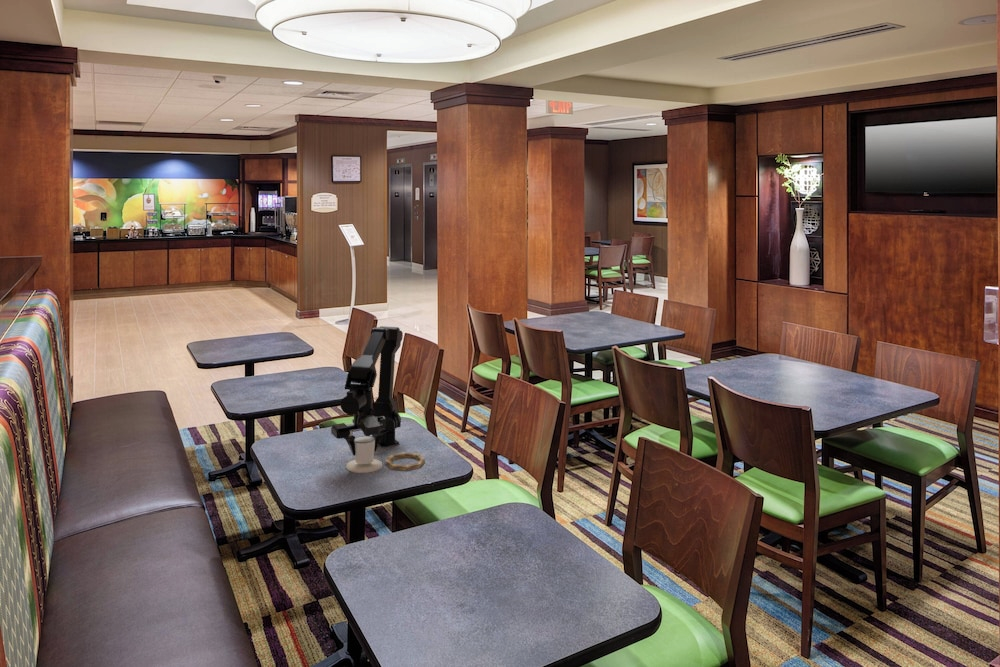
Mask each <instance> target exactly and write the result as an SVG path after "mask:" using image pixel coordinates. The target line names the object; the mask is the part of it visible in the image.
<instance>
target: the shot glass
mask: <svg viewBox="0 0 1000 667" xmlns="http://www.w3.org/2000/svg"><path fill="white" fill-rule="evenodd" d="M354 437H355V439H354V444H355V456H354V460H355V462H356V463H358V464H368V463H371V462H373V461H374V459H375V452H374V449H375V438H374V437H372V435H370V436H365V435H359V436H354Z"/></svg>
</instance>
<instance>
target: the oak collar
mask: <svg viewBox="0 0 1000 667" xmlns="http://www.w3.org/2000/svg"><path fill="white" fill-rule="evenodd" d="M403 458H409V459H416V460H417V462H415V463H411V464H407V465H405V464H396V463H394V462H393V461H394V460H398V459H403ZM424 462H425V463H426V458H425V457H423V456H422V455H421V454H420V453H417V452H416V453H415V452H408V451H407V452H405V451H404V452H399V453H394V454H390V455H389V456H388V457H387V458H386V459H385V465H386V466H387V467H389V469H391V470H394V471H395V470H396V471H405V472H406V471H410V470H416V469H420V468H422V466H423V465H424V464H425V463H424Z"/></svg>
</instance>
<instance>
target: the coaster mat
mask: <svg viewBox="0 0 1000 667" xmlns="http://www.w3.org/2000/svg"><path fill="white" fill-rule="evenodd" d="M345 465H346V466H345V468H346V470H347V471H348V472H351V473H355V474H367V473H372V472H373V473H374V472H376V471H379V470H381V468H382V467H383V462H382V461H381V460H379V459H376V458H374V461H373V462H371V463H368V464H358V463H356V462H355V459H353V460H351V461H348V462H347V463H346V464H345Z"/></svg>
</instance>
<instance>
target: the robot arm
mask: <svg viewBox="0 0 1000 667" xmlns="http://www.w3.org/2000/svg"><path fill="white" fill-rule="evenodd" d="M403 334H404V333H403V331H402V330H400V327H398V326H378V327H377V326H375V327H372V328H371V332H370V336H369V339H368V341H367V343H366V345H365V347H364V350H363V352H362V354H361V356H359V357H358V358H357V359H355V360H354V361H353V362H352V364H351V366H350V367H349V369H348V370H347V371H348V372H347V375H346V376H347V377H346V381H345V385H344V390H348V391H347V392H346V396H344V397H343V398H342V400H341V401H340V408H341V411H342V413H343V414H345V415H348V416H353V419H352V424H353V425H347V424H346V423H344V422H340V423H335V424H333V425H332V426H331V428H330V433H331V435H332V436H334V438H336V439H338V440H339V439H344V440H345V441H346V442H347V445H348V448H349V450H350V452H351V455H352V456H354V457H355V444H354V439H355V437H356V436H354V433H353V432H358V431H362V433H363V436H372V437H374V438H375V449H374V453H376V451H377V448H378V446H379V447H381V448H386V447H391V446H396V445H400V442H399V441H398V440H397V439H396V430H397V429H398V428H400V427H401V426H402V424H401V423H402V417H401V415H400V413H399V411H398V405H397V403H396V401H395V399H394V397H393V396H394V395H393V394H394V381H395V380H394V378H395V377H394V376H395V360H396V353H397V352H398V350H399V349H400V347H401V344H402V341H403V336H404V335H403ZM379 357H380V362H379V375H378V374H377V370H376V369H377V368H376V364H377V362H378V359H379ZM377 375H378V376H379V378H378V396H377V398H376V399H375V400H374V401H373V388H374V386H375V383H376V379H377Z"/></svg>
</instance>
